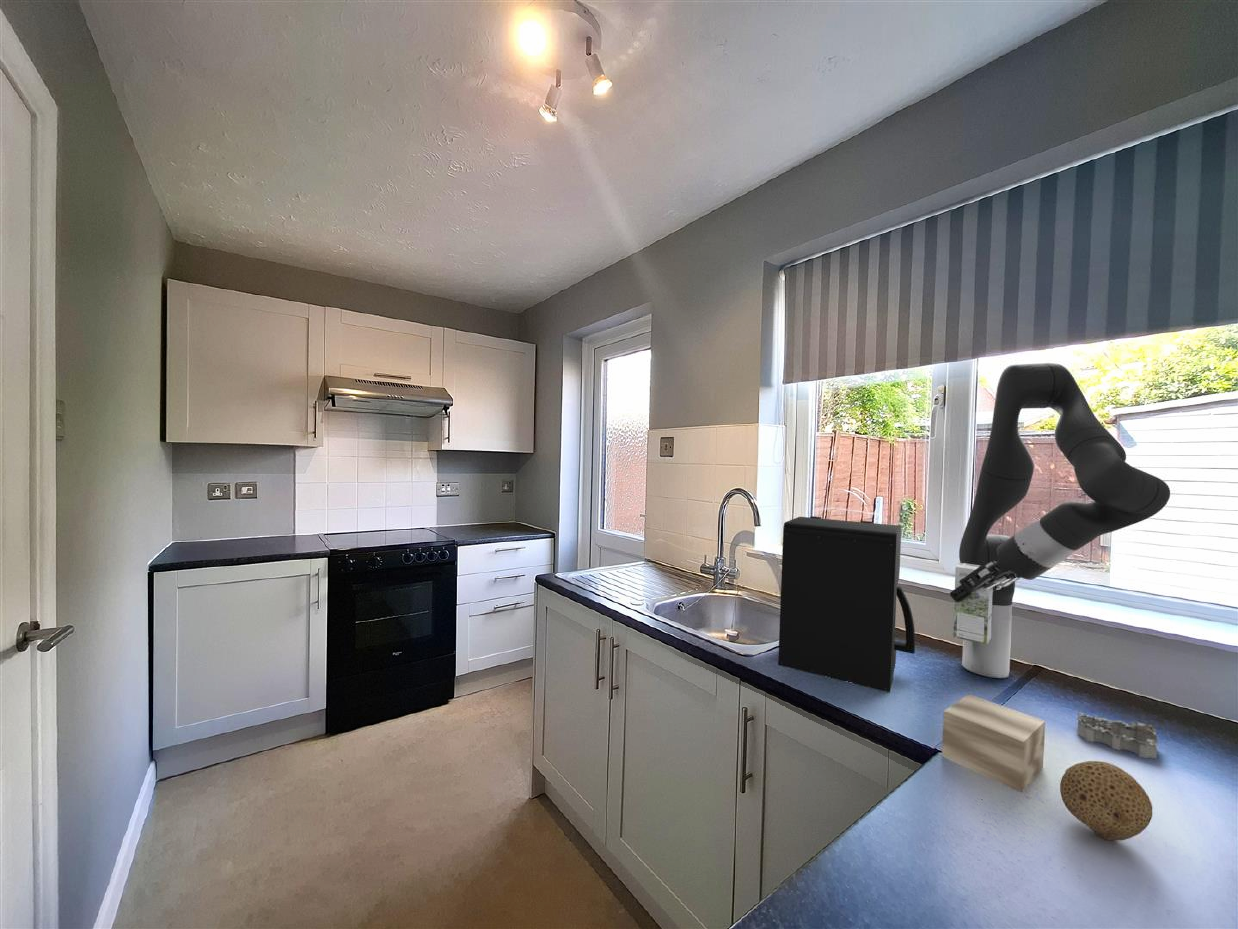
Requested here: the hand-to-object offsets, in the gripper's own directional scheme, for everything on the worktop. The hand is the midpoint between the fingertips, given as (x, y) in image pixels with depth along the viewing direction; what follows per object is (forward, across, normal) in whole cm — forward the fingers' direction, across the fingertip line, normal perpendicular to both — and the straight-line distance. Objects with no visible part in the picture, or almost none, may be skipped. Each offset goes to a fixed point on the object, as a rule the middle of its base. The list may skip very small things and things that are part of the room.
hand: (965, 596), depth 101 cm
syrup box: (+5, 0, +7) cm, 8 cm away
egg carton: (+4, -16, +30) cm, 34 cm away
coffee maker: (+34, +3, -1) cm, 34 cm away
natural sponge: (-3, +18, +37) cm, 41 cm away
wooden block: (+8, +13, +26) cm, 30 cm away
